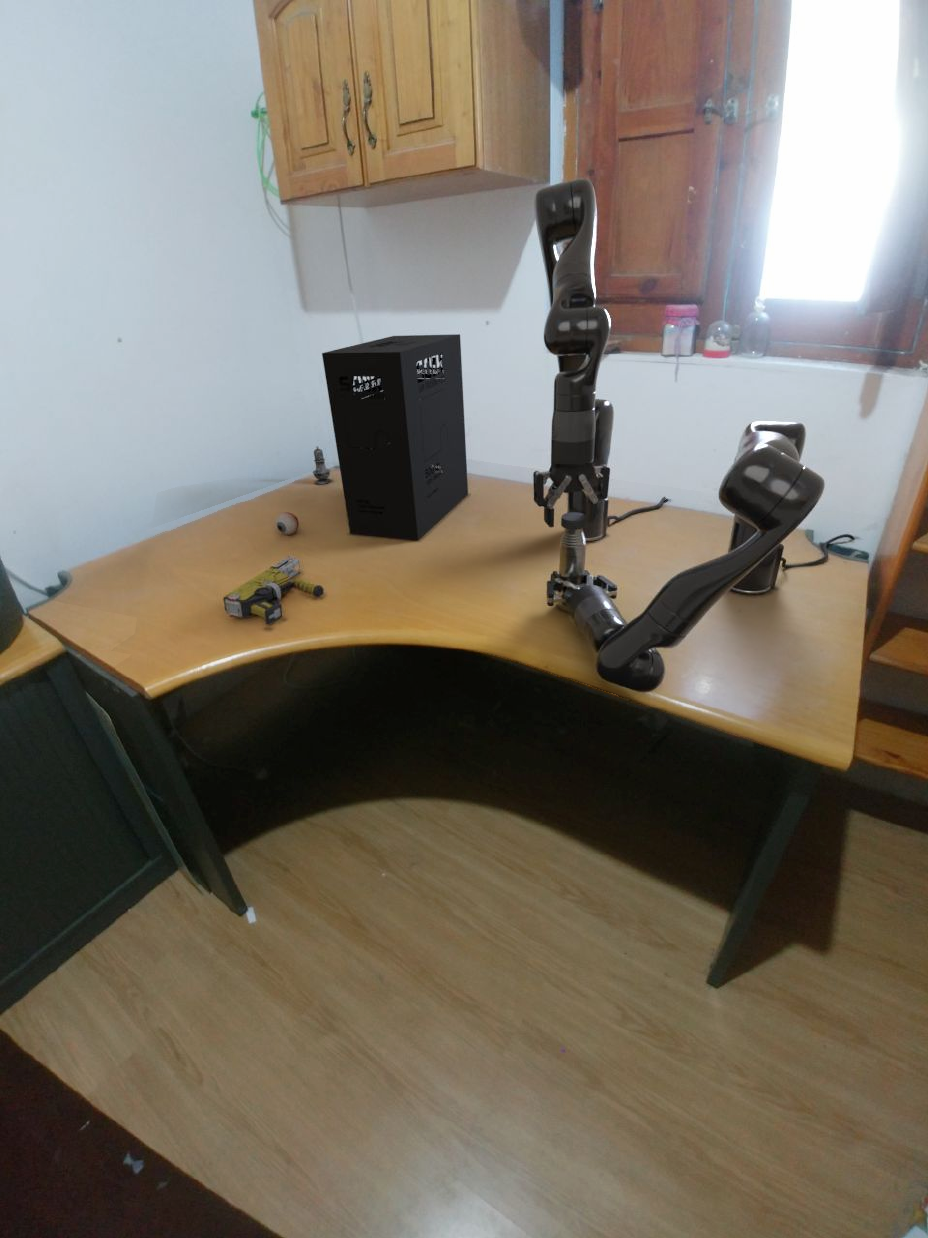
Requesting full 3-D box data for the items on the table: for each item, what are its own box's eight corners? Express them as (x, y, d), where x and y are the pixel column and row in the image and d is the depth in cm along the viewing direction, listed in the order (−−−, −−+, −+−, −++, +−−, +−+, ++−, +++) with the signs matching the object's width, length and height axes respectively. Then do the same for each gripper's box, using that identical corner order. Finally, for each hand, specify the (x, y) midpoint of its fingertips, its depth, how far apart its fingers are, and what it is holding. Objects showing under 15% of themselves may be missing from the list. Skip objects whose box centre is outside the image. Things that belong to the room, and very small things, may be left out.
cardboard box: (408, 489, 193) (393, 335, 171) (468, 494, 187) (460, 334, 164) (350, 533, 163) (321, 353, 141) (418, 540, 156) (400, 352, 134)
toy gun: (343, 565, 138) (286, 554, 142) (281, 611, 118) (217, 596, 122) (343, 584, 140) (288, 572, 144) (284, 632, 120) (221, 617, 124)
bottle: (570, 614, 120) (574, 525, 110) (553, 605, 123) (555, 519, 114) (587, 606, 122) (592, 518, 113) (570, 597, 126) (573, 512, 116)
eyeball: (273, 537, 164) (268, 516, 161) (287, 528, 169) (282, 508, 166) (291, 539, 161) (286, 518, 158) (305, 530, 166) (301, 510, 163)
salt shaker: (327, 484, 203) (321, 448, 197) (311, 484, 204) (305, 448, 198) (334, 479, 208) (328, 443, 202) (318, 478, 209) (312, 443, 203)
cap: (590, 524, 114) (591, 515, 113) (577, 531, 111) (577, 522, 110) (569, 519, 117) (570, 510, 116) (556, 526, 114) (556, 517, 113)
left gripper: (603, 426, 110) (598, 512, 118) (527, 433, 108) (527, 520, 116) (620, 435, 103) (613, 526, 112) (539, 443, 101) (538, 535, 110)
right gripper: (635, 591, 106) (602, 552, 121) (556, 600, 105) (532, 560, 119) (631, 627, 110) (600, 586, 125) (555, 636, 109) (532, 594, 123)
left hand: (569, 523), depth 114 cm, fingers open, 7 cm apart
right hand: (567, 573), depth 122 cm, fingers closed on bottle, 5 cm apart
